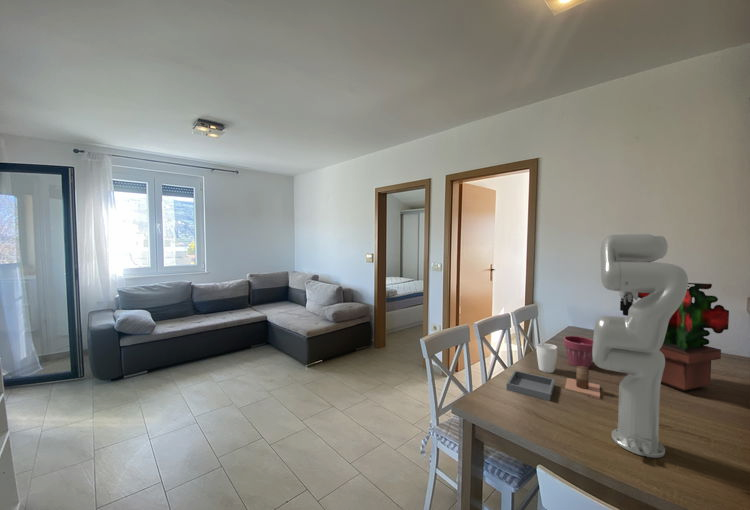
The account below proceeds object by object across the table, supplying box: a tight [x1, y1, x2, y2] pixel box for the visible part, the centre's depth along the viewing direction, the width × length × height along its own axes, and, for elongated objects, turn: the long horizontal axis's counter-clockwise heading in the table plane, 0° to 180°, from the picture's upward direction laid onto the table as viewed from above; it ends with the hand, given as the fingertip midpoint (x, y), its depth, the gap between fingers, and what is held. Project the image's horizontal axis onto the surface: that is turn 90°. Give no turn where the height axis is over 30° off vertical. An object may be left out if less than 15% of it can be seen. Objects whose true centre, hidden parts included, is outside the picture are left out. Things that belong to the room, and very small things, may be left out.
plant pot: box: [563, 335, 593, 369], centre depth 155 cm, size 14×14×13 cm
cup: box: [536, 342, 558, 373], centre depth 149 cm, size 9×9×12 cm
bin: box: [506, 370, 555, 402], centre depth 130 cm, size 16×16×4 cm
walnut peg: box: [575, 366, 590, 389], centre depth 130 cm, size 4×4×8 cm
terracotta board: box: [564, 377, 601, 400], centre depth 130 cm, size 12×12×1 cm
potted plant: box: [638, 282, 730, 392], centre depth 133 cm, size 22×22×45 cm
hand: (626, 313), depth 118 cm, fingers open, 9 cm apart
